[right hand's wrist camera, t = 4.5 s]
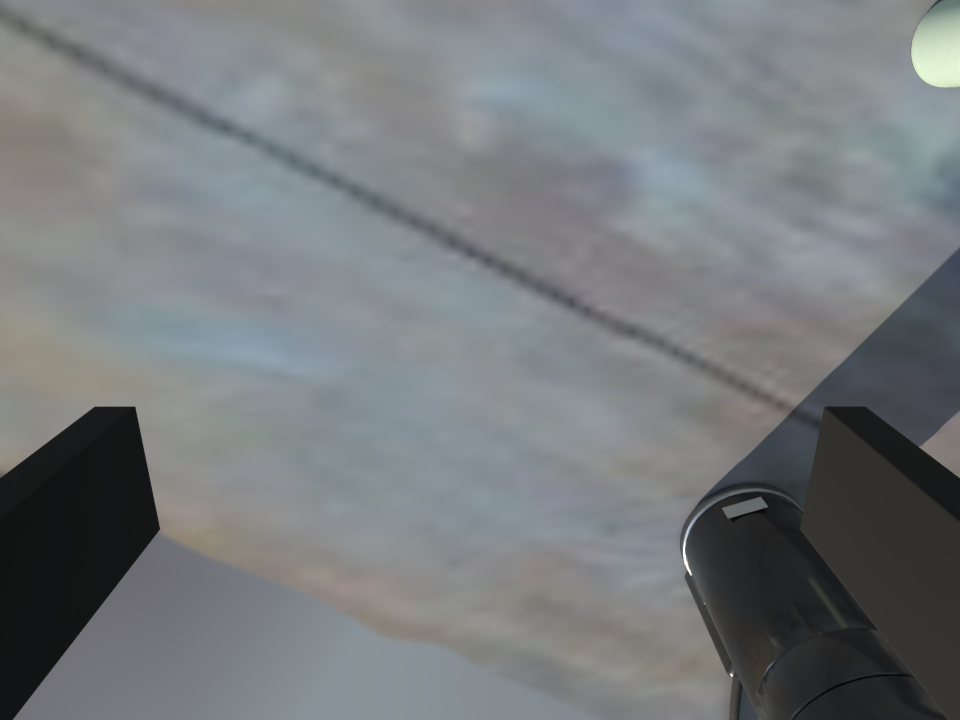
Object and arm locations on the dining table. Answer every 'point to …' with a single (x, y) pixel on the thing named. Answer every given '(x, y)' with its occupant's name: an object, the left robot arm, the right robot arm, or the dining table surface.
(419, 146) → the dining table surface
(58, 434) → the right robot arm
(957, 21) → the bottle
